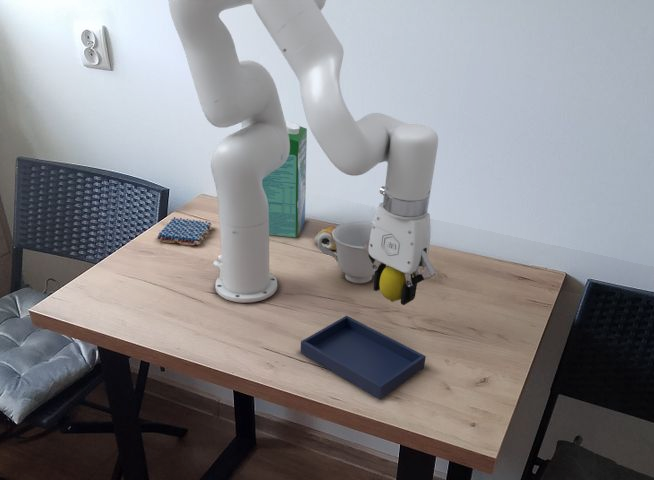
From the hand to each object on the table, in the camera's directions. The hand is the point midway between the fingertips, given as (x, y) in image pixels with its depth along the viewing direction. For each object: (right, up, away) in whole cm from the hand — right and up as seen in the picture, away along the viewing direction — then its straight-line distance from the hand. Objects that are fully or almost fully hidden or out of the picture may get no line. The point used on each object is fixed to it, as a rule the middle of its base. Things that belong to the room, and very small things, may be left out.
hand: (393, 294), depth 127 cm
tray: (-6, -12, -4) cm, 14 cm away
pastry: (-9, +14, +34) cm, 38 cm away
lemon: (0, -1, +1) cm, 2 cm away
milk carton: (-21, +19, +40) cm, 49 cm away
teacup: (-6, +5, +21) cm, 22 cm away
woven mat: (-44, +16, +35) cm, 59 cm away
